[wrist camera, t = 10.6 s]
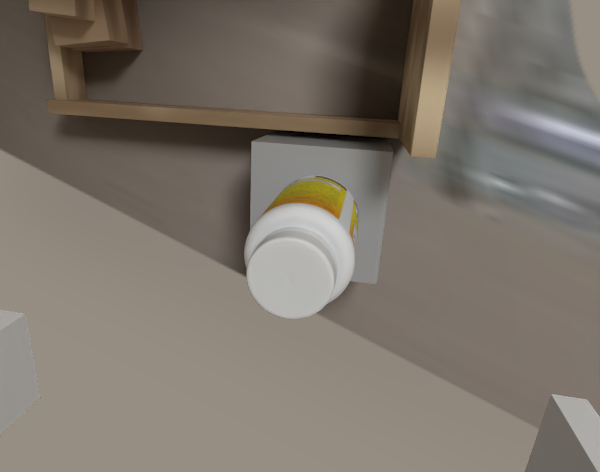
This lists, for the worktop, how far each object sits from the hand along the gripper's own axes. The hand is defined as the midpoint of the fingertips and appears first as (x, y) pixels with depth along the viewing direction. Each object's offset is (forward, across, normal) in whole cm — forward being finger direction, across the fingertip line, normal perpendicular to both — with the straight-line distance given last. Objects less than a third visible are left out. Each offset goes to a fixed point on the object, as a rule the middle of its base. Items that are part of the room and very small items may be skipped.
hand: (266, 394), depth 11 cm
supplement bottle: (+18, -1, -1) cm, 18 cm away
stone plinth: (+25, -1, -1) cm, 25 cm away
